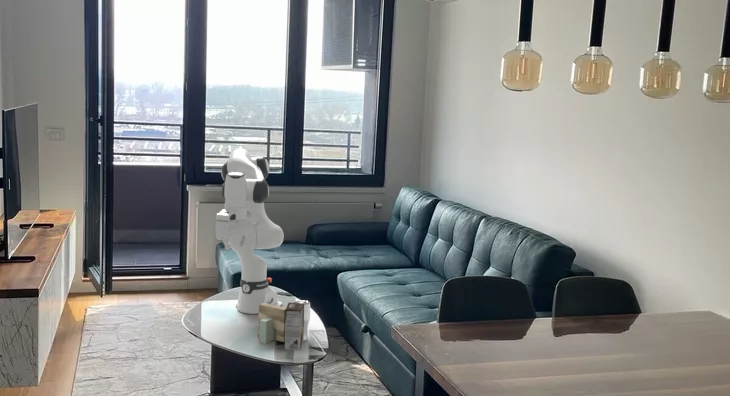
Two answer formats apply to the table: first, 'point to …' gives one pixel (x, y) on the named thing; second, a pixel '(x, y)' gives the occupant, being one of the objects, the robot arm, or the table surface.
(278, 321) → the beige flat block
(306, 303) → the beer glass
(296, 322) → the coffee box
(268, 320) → the sage stand plate
